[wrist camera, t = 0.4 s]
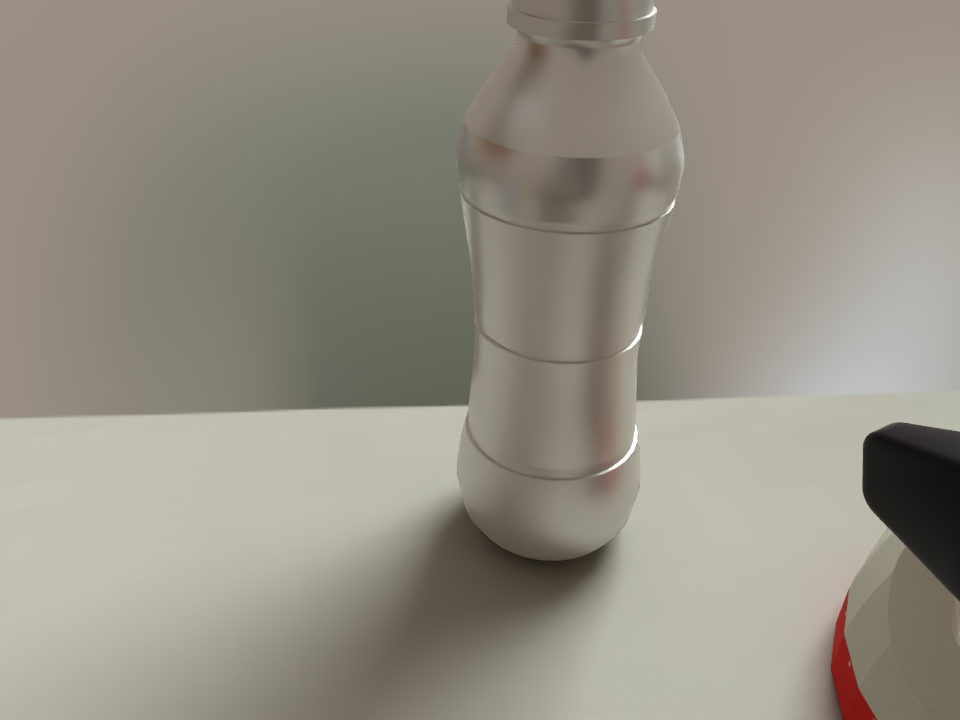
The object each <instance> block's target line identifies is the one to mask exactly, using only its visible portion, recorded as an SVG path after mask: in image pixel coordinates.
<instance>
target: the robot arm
mask: <svg viewBox="0 0 960 720" xmlns="http://www.w3.org/2000/svg"><path fill="white" fill-rule="evenodd" d="M862 488H863V494H864V498H865V500H866V502H867V504H868V506H869V507H870V509H871V510H872V511H873V512H874V513H875V514H876V515H877V517H878V518H879V519H880V520H881V521H882V522H883V523H884V524H885V525H886V526H887V527H888V528H889V529H890V530H891V531H892V532H893V533H894V534H895V535H896V536H897V537H898V538H899V540H900V541H901V542H902V543H903V544H904V545H905V546H906V547H907V548H908V549H909V550H910V551H911V552H912V553H913V554H914V555H915V556H916V557H917V558H918V559H919V560H920V561H921V563H922V564H923V565H924V566H925V567H926V568H927V569H928V570H929V571H930V572H931V573H932V574H933V575H934V576H935V577H936V578H937V579H938V580H939V581H940V582H941V583H942V585H943V586H944V587H945V588H946V589H947V590H948V591H949V592H950V593H951V594H952V595H953V596H954V597H955V598H956V599H957V600H958V601H959V602H960V432H958V431H952V430H946V429H939V428H933V427H927V426H921V425H914V424H908V423H901V422H898V423H892V424H889V425H887V426H885V427H883V428H881V429H879V430H876V431H874V432H872V433H870V434H869V435H868V436H867V437H866V439H865V441H864V443H863V482H862Z"/></svg>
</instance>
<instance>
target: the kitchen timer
mask: <svg viewBox="0 0 960 720" xmlns="http://www.w3.org/2000/svg"><path fill="white" fill-rule="evenodd" d="M831 669H832V673H833V678H834V682H835V686H836V690H837V694H838V698H839V702H840V707H841V711H842V715H843V719H844V720H960V602H959V601H958V600H957V599H956V598H955V597H954V596H953V595H952V594H951V593H950V592H949V591H948V590H947V589H946V588H945V587H944V586H943V585H942V583H941V582H940V581H939V580H938V579H937V578H936V577H935V576H934V575H933V574H932V573H931V572H930V571H929V570H928V569H927V568H926V567H925V566H924V565H923V564H922V563H921V561H920V560H919V559H918V558H917V557H916V556H915V555H914V554H913V553H912V552H911V551H910V550H909V549H908V548H907V547H906V546H905V545H904V544H903V543H902V542H901V541H900V540H899V538H898V537H897V536H896V535H895V534H894V533H893V532H892V531H891V530H890V529H889V528H887V530H886V531H885V532H884V534H883V535H882V537H881V538H880V539H879V541H878V542H877V544H876V545H875V547H874V549H873V550H872V552H871V553H870V555H869V556H868V558H867V560H866V561H865V563H864V564H863V566H862V567H861V569H860V571H859V572H858V574H857V575H856V577H855V579H854V581H853V583H852V584H851V586H850V588H849V590H848V593H847V596H846V598H845V601H844V604H843V606H842V609H841V612H840V614H839V617H838V620H837V622H836V631H835V639H834V647H833V655H832V664H831Z"/></svg>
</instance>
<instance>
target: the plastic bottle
mask: <svg viewBox="0 0 960 720" xmlns="http://www.w3.org/2000/svg"><path fill="white" fill-rule="evenodd" d="M656 14H657V9H656V8H655V6H654V0H510V1H509V2H508V3H507V17H506V21H507V24H508V25H509V26H511V27H513V28H514V29H516V30H517V36H516V40H515V45H514V47H513V48H512V49H511V50H510V52H509V53H508V54H507V55H506V57H505V58H504V59H503V60H502V62H501V63H500V64H499V65H498V67H497V68H496V69H495V70H494V72H493V73H492V74H491V75H490V77H489V78H488V79H487V81H486V82H485V84H484V85H483V87H482V88H481V90H480V92H479V93H478V95H477V96H476V98H475V99H474V101H473V102H472V104H471V106H470V107H469V109H468V110H467V112H466V113H465V115H464V118H463V122H462V125H461V129H460V132H459V136H458V139H457V143H456V159H457V171H458V182H459V184H460V195H461V201H462V208H463V214H464V221H465V227H466V233H467V239H468V246H469V252H470V258H471V265H472V280H473V298H474V309H475V314H474V318H475V334H476V335H475V336H476V340H475V350H474V361H473V371H472V380H471V390H470V400H469V410H468V413H467V416H466V419H465V423H464V427H463V431H462V434H461V440H460V446H459V453H458V459H457V476H458V480H459V485H460V489H461V493H462V498H463V502H464V505H465V508H466V511H467V513H468V515H469V516H470V518H471V519H472V521H473V523H474V524H475V525H476V526H477V527H478V528H479V529H480V530H481V531H482V532H483V533H484V534H486V535H487V536H488V537H489V538H490V539H491V540H492V541H493V542H495V543H496V544H498V545H499V546H500V547H502V548H503V549H506V550H508V551H510V552H512V553H514V554H517V555H520V556H523V557H527V558H530V559H537V560H544V561H561V560H568V559H574V558H577V557H581V556H584V555H587V554H589V553H591V552H593V551H595V550H596V549H598V548H600V547H601V546H603V545H604V544H606V543H607V542H609V541H610V540H611V539H613V538H614V537H615V536H616V535H617V534H619V532H620V531H621V530H622V528H623V527H624V526H625V524H626V522H627V520H628V517H629V514H630V512H631V509H632V507H633V504H634V502H635V499H636V496H637V493H638V491H639V488H640V447H639V440H638V433H637V428H636V425H635V420H636V387H637V356H638V351H639V345H640V340H641V335H642V323H643V321H644V318H645V314H646V309H647V304H648V298H649V293H650V288H651V282H652V277H653V274H654V271H655V267H656V264H657V261H658V257H659V254H660V250H661V247H662V244H663V240H664V237H665V234H666V231H667V227H668V223H669V221H670V217H671V214H672V211H673V207H674V204H675V197H676V196H677V194H678V191H679V186H680V181H681V177H682V172H683V168H684V152H683V146H682V139H681V133H680V126H679V123H678V121H677V119H676V116H675V114H674V112H673V110H672V107H671V105H670V103H669V101H668V98H667V96H666V94H665V92H664V90H663V88H662V86H661V84H660V83H659V81H658V79H657V78H656V76H655V74H654V72H653V71H652V69H651V67H650V66H649V64H648V62H647V60H646V58H645V57H644V55H643V53H642V46H641V36H643V35H646V34H648V33H650V32H652V31H653V30H654V28H655V21H656Z"/></svg>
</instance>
